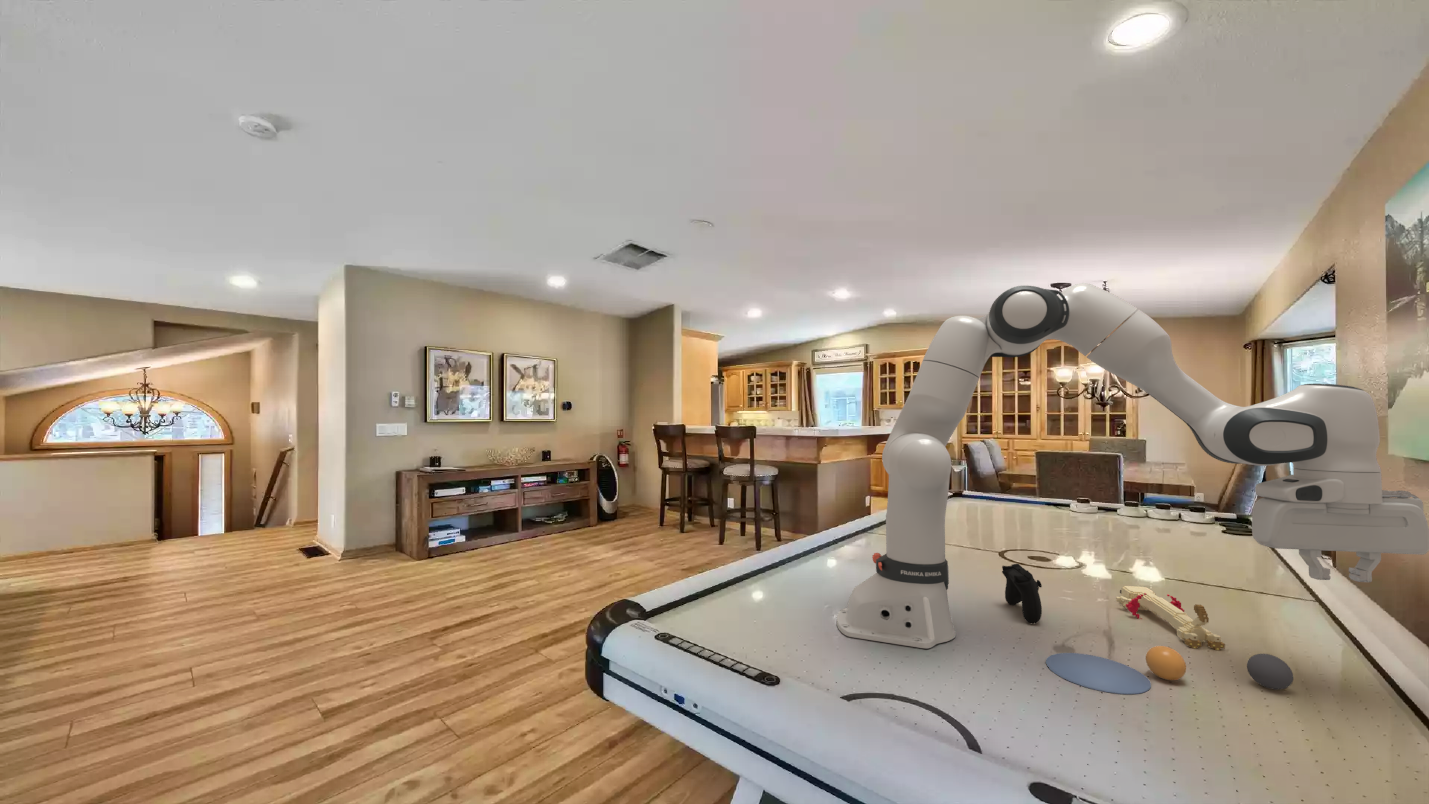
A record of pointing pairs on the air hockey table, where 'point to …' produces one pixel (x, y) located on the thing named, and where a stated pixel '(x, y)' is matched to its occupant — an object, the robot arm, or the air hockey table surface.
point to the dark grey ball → (1270, 671)
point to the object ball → (1166, 663)
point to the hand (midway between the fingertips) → (1339, 580)
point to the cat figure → (1171, 615)
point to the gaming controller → (1023, 591)
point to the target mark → (1098, 673)
